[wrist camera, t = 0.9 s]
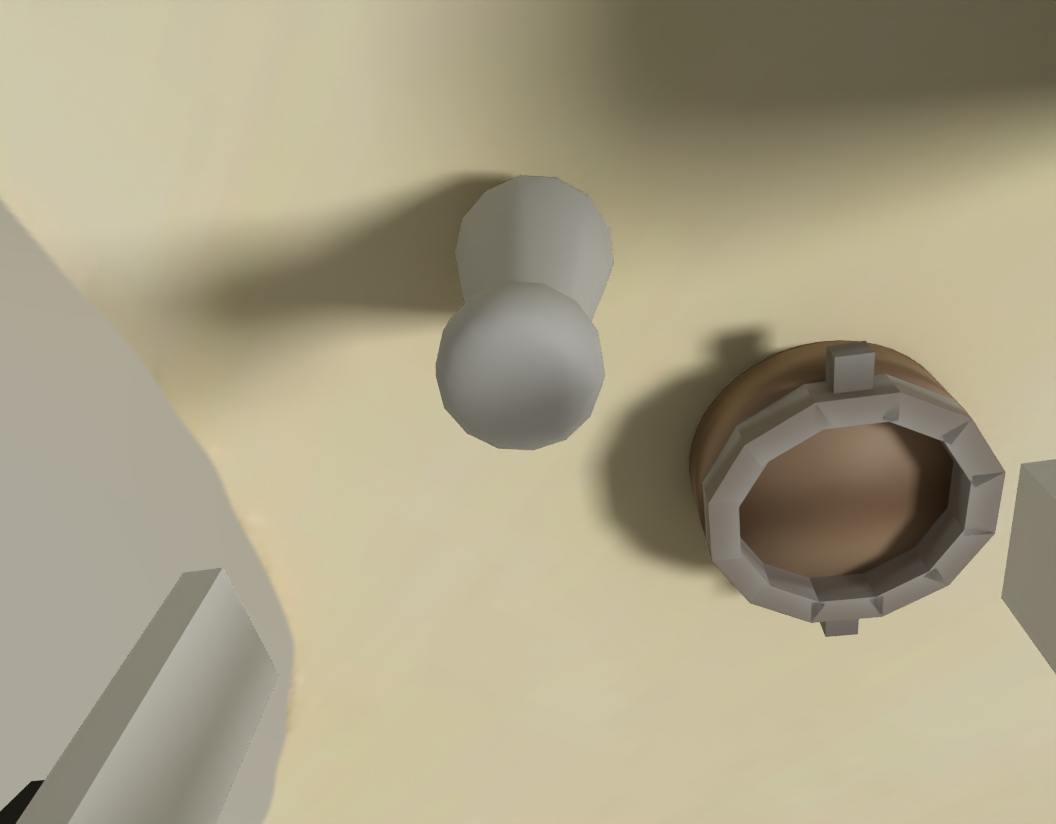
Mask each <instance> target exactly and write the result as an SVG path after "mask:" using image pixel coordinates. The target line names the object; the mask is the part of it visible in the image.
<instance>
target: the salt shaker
mask: <svg viewBox="0 0 1056 824" xmlns="http://www.w3.org/2000/svg"><path fill="white" fill-rule="evenodd" d="M455 256H456V262H457V267H458V273H459V278H460V284H461V289H462V294H463V300H464V305H463V306H462V307H461V308H460V309H459V310H458V311H457V312H456V314H455V315H454V316H453V317H452V318H451V319H450V320H449V321H448V323H447V325H446V326H445V328H444V330H443V333H442V338H441V343H440V347H439V352H438V356H437V361H436V378H437V382H438V386H439V390H440V393H441V397H442V401H443V405H444V408H445V409H446V410H447V412H448V413H449V414H450V415H451V416H452V417H453V418H454V419H455V420H456V422H457V423H458V424H459V425H460V426H461V427H462V428H463V429H464V430H465V432H466V433H468V434H470V435H472V436H474V437H476V438H478V439H480V440H482V441H484V442H486V443H488V444H490V445H492V446H494V447H496V448H500V449H519V450H535V449H539V448H542V447H545V446H548V445H551V444H554V443H557V442H560V441H563V440H566V439H567V438H568V437H569V436H570V435H571V434H572V433H573V432H574V431H576V430H577V429H578V428H579V427H580V426H581V425H582V424H583V423H584V422H585V421H586V420H587V419H588V418H589V417H590V415H591V413H592V410H593V408H594V405H595V402H596V400H597V397H598V395H599V392H600V389H601V387H602V384H603V380H604V377H605V371H604V364H603V358H602V352H601V346H600V340H599V335H598V330H597V329H596V327H595V326H594V325H593V323H592V319H593V317H594V314H595V311H596V309H597V306H598V304H599V302H600V299H601V297H602V295H603V292H604V289H605V287H606V284H607V281H608V278H609V275H610V272H611V270H612V267H613V264H614V258H613V250H612V243H611V236H610V228H609V226H608V224H607V223H606V221H605V220H604V218H603V217H602V215H601V214H600V213H599V211H598V210H597V208H596V207H595V205H594V204H593V202H592V201H591V199H590V198H589V196H588V195H587V194H585V193H583V192H581V191H580V190H578V189H576V188H574V187H572V186H571V185H569V184H567V183H565V182H564V181H562V180H560V179H558V178H556V177H539V176H521V175H520V176H518V177H516V178H514V179H511V180H509V181H507V182H505V183H502V184H500V185H498V186H496V187H493V188H491V189H489V190H487V191H486V192H485V193H484V194H483V195H482V196H481V197H480V199H479V200H478V201H477V202H476V203H475V204H474V206H473V207H472V208H471V209H470V210H469V211H468V213H467V214H466V215H465V216H464V217H463V218H462V221H461V226H460V231H459V236H458V240H457V245H456V250H455Z"/></svg>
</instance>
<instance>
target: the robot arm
mask: <svg viewBox="0 0 1056 824" xmlns="http://www.w3.org/2000/svg"><path fill="white" fill-rule="evenodd" d="M1001 598H1002V600H1003V601H1004V602H1005V604H1006V605H1007V607H1008V608H1009V609H1010V611H1011V612H1012V614H1013V615H1014V616H1015V618H1016V619H1017V620H1018V622H1019V623H1020V625H1021V626H1022V627H1023V629H1024V630H1025V632H1026V633H1027V634H1028V636H1029V637H1030V639H1031V640H1032V641H1033V643H1034V644H1035V646H1036V647H1037V648H1038V650H1039V651H1040V653H1041V654H1042V655H1043V657H1044V658H1045V660H1046V661H1047V662H1048V664H1049V665H1050V667H1051V668H1052V669H1053V671H1054V672H1055V674H1056V459H1055V460H1047V461H1039V462H1032V463H1024V464H1021V468H1020V475H1019V482H1018V488H1017V495H1016V502H1015V509H1014V515H1013V522H1012V529H1011V536H1010V542H1009V549H1008V556H1007V563H1006V569H1005V576H1004V583H1003V590H1002V597H1001ZM278 676H279V673H278V671H277V670H276V668H275V666H274V664H273V662H272V660H271V659H270V656H269V654H268V653H267V651H266V649H265V647H264V645H263V643H262V641H261V639H260V637H259V635H258V633H257V632H256V630H255V628H254V626H253V624H252V622H251V620H250V618H249V616H248V615H247V613H246V611H245V609H244V607H243V605H242V603H241V601H240V599H239V598H238V596H237V594H236V592H235V590H234V588H233V586H232V584H231V583H230V580H229V578H228V577H227V575H226V573H225V571H224V569H223V568H216V569H209V570H201V571H194V572H186V573H183V574H182V575H181V577H180V578H179V580H178V581H177V583H176V584H175V586H174V588H173V589H172V590H171V592H170V594H169V595H168V596H167V598H166V599H165V601H164V603H163V604H162V606H161V607H160V608H159V610H158V611H157V613H156V614H155V616H154V618H153V619H152V620H151V622H150V623H149V625H148V626H147V628H146V629H145V631H144V633H143V634H142V635H141V637H140V639H139V640H138V641H137V643H136V644H135V646H134V647H133V649H132V650H131V652H130V653H129V655H128V656H127V658H126V659H125V661H124V662H123V664H122V665H121V667H120V669H119V670H118V672H117V673H116V674H115V676H114V677H113V679H112V680H111V682H110V683H109V685H108V686H107V688H106V689H105V691H104V692H103V694H102V695H101V697H100V698H99V700H98V701H97V703H96V704H95V706H94V707H93V709H92V710H91V712H90V713H89V715H88V716H87V718H86V719H85V721H84V722H83V724H82V725H81V727H80V728H79V730H78V731H77V733H76V734H75V736H74V737H73V739H72V740H71V742H70V743H69V745H68V746H67V748H66V749H65V751H64V752H63V754H62V755H61V757H60V758H59V760H58V761H57V763H56V764H55V766H54V767H53V769H52V770H51V772H50V773H49V775H48V776H47V778H46V779H45V780H42V781H41V780H40V781H31V782H30V783H29V784H28V785H27V786H26V787H25V788H24V789H23V790H22V791H21V792H20V793H19V794H18V795H17V796H16V797H15V798H14V799H13V800H12V801H11V802H10V803H9V804H8V805H6V806H5V807H4V808H3V810H1V811H0V824H216V822H217V819H218V817H219V815H220V812H221V810H222V808H223V805H224V803H225V801H226V798H227V796H228V793H229V791H230V789H231V787H232V784H233V782H234V780H235V777H236V775H237V772H238V770H239V768H240V765H241V763H242V761H243V759H244V756H245V754H246V751H247V749H248V746H249V744H250V742H251V740H252V737H253V735H254V732H255V730H256V728H257V725H258V723H259V721H260V719H261V716H262V714H263V711H264V709H265V707H266V705H267V702H268V700H269V698H270V695H271V693H272V691H273V688H274V686H275V683H276V681H277V679H278Z"/></svg>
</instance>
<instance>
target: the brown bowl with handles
mask: <svg viewBox="0 0 1056 824" xmlns="http://www.w3.org/2000/svg"><path fill="white" fill-rule="evenodd" d="M690 477H691V483H692V488H693V492H694V496H695V500H696V504H697V508H698V512H699V516H700V520H701V524H702V527H703V530H704V533H705V536H706V539H707V543H708V547H709V551H710V555H711V559H712V562H713V563H714V564H715V565H716V566H717V567H718V568H719V569H720V570H721V572H722V573H723V574H724V575H725V576H726V577H727V578H728V579H729V580H730V582H731V583H732V584H733V585H734V586H735V587H736V588H737V589H738V590H739V592H740V593H741V594H742V595H743V596H744V597H745V598H746V599H747V600H748V601H749V603H751V604H754V605H757V606H761V607H764V608H767V609H770V610H773V611H776V612H779V613H782V614H785V615H789V616H792V617H795V618H798V619H801V620H804V621H807V622H810V623H814V622H820V624H821V626H822V629H823V631H824V634H825V636H826V637H829V636H841V635H853V634H858V621H859V619H860V618H872V617H882V616H885V615H887V614H889V613H891V612H893V611H895V610H897V609H899V608H902V607H904V606H906V605H908V604H910V603H912V602H914V601H916V600H918V599H921V598H923V597H925V596H927V595H929V594H931V593H933V592H935V591H938V590H940V589H942V588H944V587H946V586H948V585H949V584H950V583H951V582H952V581H953V580H954V579H955V578H956V577H957V575H958V574H959V573H960V572H961V571H962V570H963V569H964V568H965V566H966V565H967V564H968V563H969V562H970V561H971V560H972V559H973V557H974V556H975V555H976V554H977V553H978V552H979V551H980V550H981V548H982V547H983V546H984V545H985V544H986V543H987V542H988V541H989V539H990V538H991V537H992V536H993V535H994V534H995V530H996V524H997V518H998V513H999V507H1000V501H1001V495H1002V489H1003V483H1004V478H1005V471H1004V469H1003V467H1002V466H1001V464H1000V463H999V461H998V459H997V458H996V456H995V455H994V453H993V452H992V450H991V448H990V447H989V445H988V444H987V442H986V440H985V439H984V437H983V436H982V434H981V432H980V431H979V429H978V428H977V426H976V424H975V422H974V421H973V420H972V418H971V417H970V416H969V414H968V413H967V412H966V410H965V409H964V408H963V407H962V406H961V405H960V404H959V403H958V402H957V401H956V400H955V399H954V398H953V397H952V396H951V395H950V394H949V393H948V392H947V390H946V389H945V388H944V387H943V386H942V385H941V384H940V383H939V382H938V381H937V380H936V379H935V378H934V377H933V376H932V375H931V374H930V373H929V372H928V371H927V370H926V369H925V368H924V367H923V366H921V365H920V364H919V363H917V362H916V361H914V360H913V359H911V358H910V357H908V356H906V355H904V354H902V353H899V352H897V351H895V350H893V349H890V348H887V347H883V346H880V345H877V344H871V343H867V342H866V341H861V342H859V341H828V342H819V343H813V344H808V345H803V346H799V347H796V348H793V349H790V350H786V351H783V352H781V353H779V354H776V355H774V356H772V357H769V358H767V359H765V360H764V361H762V362H760V363H758V364H756V365H755V366H753V367H751V368H750V369H748V370H747V371H746V372H744V373H743V374H741V375H740V376H739V377H737V378H736V379H735V380H734V381H733V382H731V383H730V384H729V385H728V386H727V387H726V388H725V389H724V390H723V391H722V392H721V393H720V394H719V395H718V397H717V398H716V399H715V400H714V401H713V402H712V404H711V405H710V407H709V408H708V410H707V411H706V413H705V414H704V416H703V418H702V420H701V422H700V424H699V426H698V428H697V430H696V433H695V436H694V439H693V443H692V447H691V453H690Z"/></svg>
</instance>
